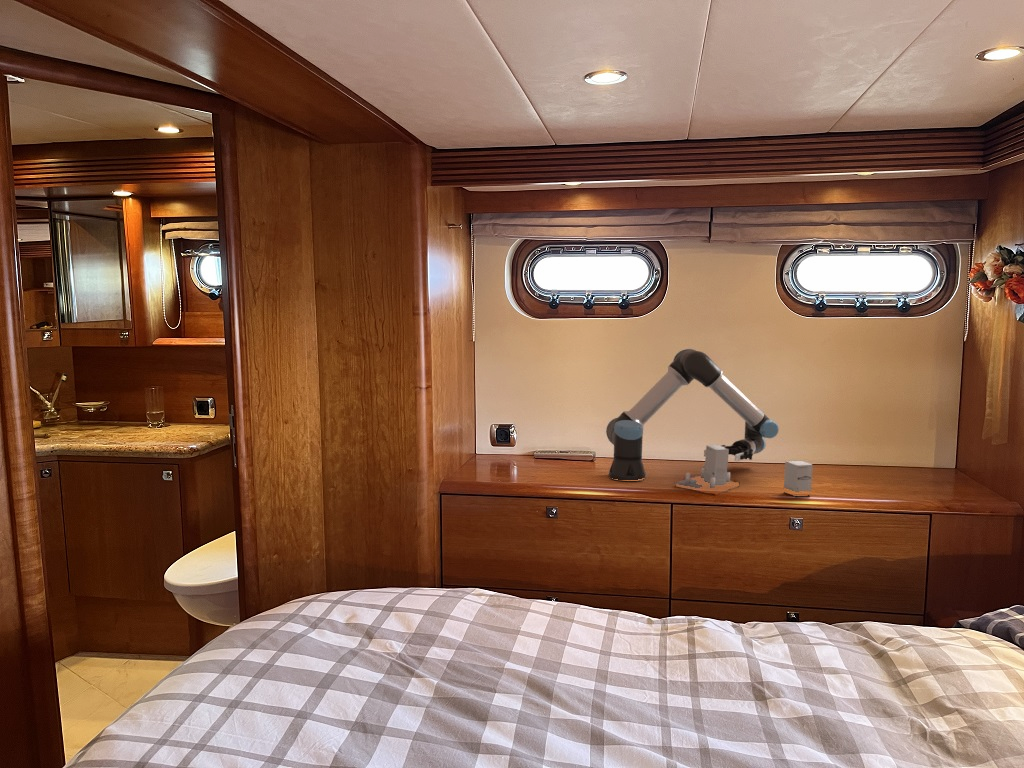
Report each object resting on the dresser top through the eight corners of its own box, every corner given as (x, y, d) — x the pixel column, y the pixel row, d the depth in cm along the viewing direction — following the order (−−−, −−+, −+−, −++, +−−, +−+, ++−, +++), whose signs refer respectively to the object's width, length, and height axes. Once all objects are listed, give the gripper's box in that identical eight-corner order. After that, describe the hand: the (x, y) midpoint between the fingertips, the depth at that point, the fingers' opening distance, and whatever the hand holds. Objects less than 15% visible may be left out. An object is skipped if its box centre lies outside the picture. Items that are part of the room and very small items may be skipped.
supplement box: (794, 497, 283) (796, 465, 281) (782, 492, 290) (784, 461, 288) (811, 496, 285) (813, 464, 283) (799, 491, 292) (801, 460, 290)
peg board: (674, 486, 297) (675, 473, 297) (699, 478, 312) (699, 465, 311) (716, 495, 285) (717, 481, 284) (739, 485, 300) (740, 472, 299)
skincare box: (703, 481, 301) (704, 444, 299) (716, 480, 303) (718, 444, 301) (714, 486, 293) (715, 449, 291) (727, 485, 295) (729, 448, 293)
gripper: (770, 461, 312) (748, 469, 296) (716, 452, 329) (692, 460, 313) (771, 443, 311) (749, 451, 295) (716, 435, 328) (692, 442, 312)
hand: (719, 455), depth 304 cm, fingers open, 13 cm apart
